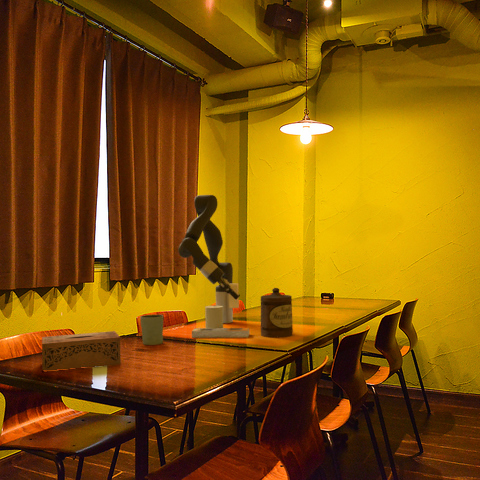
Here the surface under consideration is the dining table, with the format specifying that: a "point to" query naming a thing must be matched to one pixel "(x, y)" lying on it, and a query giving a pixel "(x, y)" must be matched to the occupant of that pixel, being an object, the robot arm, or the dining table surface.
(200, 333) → the rail
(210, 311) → the can
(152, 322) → the grey green cup
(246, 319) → the dining table surface
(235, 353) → the dining table surface
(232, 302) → the block
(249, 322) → the dining table surface
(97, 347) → the tissue box cover
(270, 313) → the wooden container
